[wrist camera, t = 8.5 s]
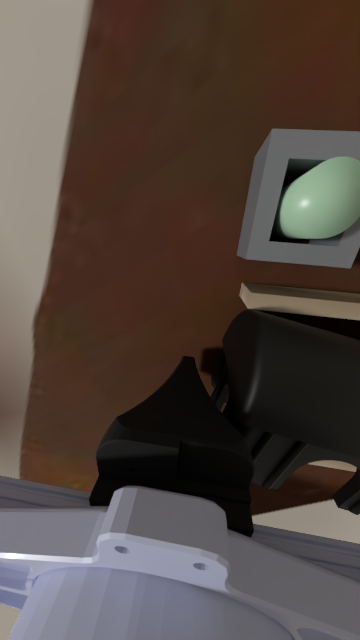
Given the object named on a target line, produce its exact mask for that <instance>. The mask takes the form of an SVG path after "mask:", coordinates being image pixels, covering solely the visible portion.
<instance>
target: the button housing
mask: <svg viewBox="0 0 360 640" xmlns="http://www.w3.org/2000/svg"><path fill="white" fill-rule="evenodd" d="M342 156H346V157H352V158H355V159H357V160H359V161H360V132H356V131H326V130H296V129H272V130H271V132H270V133H269V135H268V137H267V138H266V140H265V142H264V143H263V145H262V146H261V148H260V150H259V151H258V153H257V154H256V156H255V159H254V164H253V169H252V175H251V180H250V186H249V191H248V197H247V202H246V208H245V213H244V219H243V224H242V229H241V235H240V240H239V246H238V251H237V256H240V257H242V258H244V259H249V260H261V261H272V262H284V263H296V264H307V265H319V266H330V267H342V268H351V267H352V264H353V262H354V260H355V257H356V255H357V252H358V250H359V248H360V217H359V218H358V219H357V220H356V221H355V223H353V224H352V225H351V226H350V227H349V228H348V229H346V230H345V231H343V232H342V233H340V234H338V235H335V236H332V237H329V238H322V239H310V240H309V243H308V244H298V243H286V242H273V241H269V239H270V235H271V231H272V227H273V223H274V219H275V214H276V210H277V206H278V202H279V198H280V194H281V190H282V185H283V181H284V180H296V179H298V178H299V177H301V176H302V175H304V174H305V173H307V172H308V171H310V170H311V169H313V168H314V167H316V166H317V165H319V164H321V163H322V162H324V161H326V160H328V159H331V158H335V157H342Z"/></svg>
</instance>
